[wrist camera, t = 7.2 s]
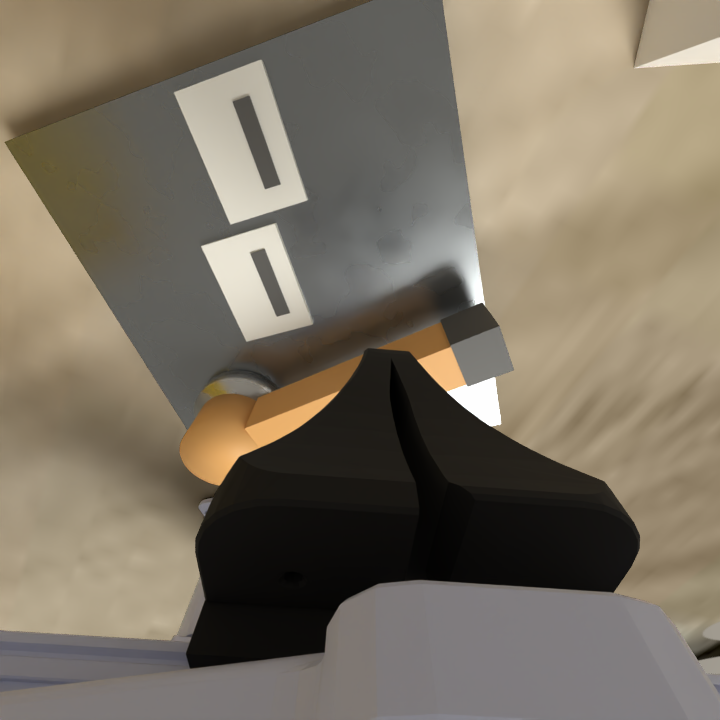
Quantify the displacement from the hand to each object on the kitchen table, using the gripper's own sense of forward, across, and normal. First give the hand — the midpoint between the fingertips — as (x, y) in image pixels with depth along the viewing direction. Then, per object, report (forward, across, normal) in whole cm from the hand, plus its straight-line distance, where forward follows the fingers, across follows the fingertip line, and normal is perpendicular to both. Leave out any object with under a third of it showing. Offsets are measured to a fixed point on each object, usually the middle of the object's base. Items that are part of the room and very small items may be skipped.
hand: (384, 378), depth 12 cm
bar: (+7, +2, +5) cm, 8 cm away
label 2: (+9, +6, 0) cm, 11 cm away
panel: (+9, +4, +1) cm, 10 cm away
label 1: (+9, +6, -6) cm, 12 cm away
